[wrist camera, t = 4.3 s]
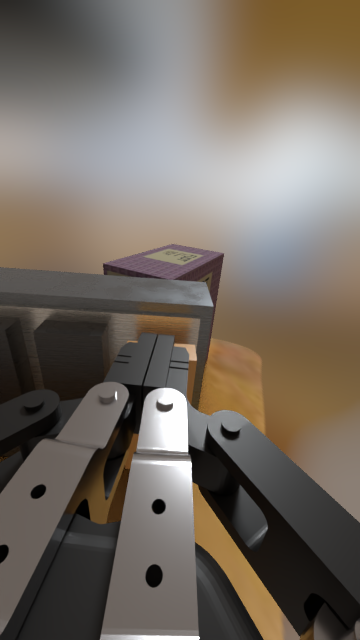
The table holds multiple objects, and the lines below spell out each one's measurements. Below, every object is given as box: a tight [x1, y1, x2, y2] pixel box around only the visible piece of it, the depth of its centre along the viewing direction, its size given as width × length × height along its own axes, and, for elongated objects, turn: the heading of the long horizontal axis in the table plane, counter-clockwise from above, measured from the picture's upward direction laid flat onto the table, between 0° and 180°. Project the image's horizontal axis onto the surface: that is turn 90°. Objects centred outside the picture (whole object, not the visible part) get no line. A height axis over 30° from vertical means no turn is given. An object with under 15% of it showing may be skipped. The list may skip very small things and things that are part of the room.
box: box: [103, 244, 224, 362], centre depth 39 cm, size 17×9×20 cm, turn 153°
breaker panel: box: [0, 267, 214, 457], centre depth 27 cm, size 22×8×20 cm, turn 91°
